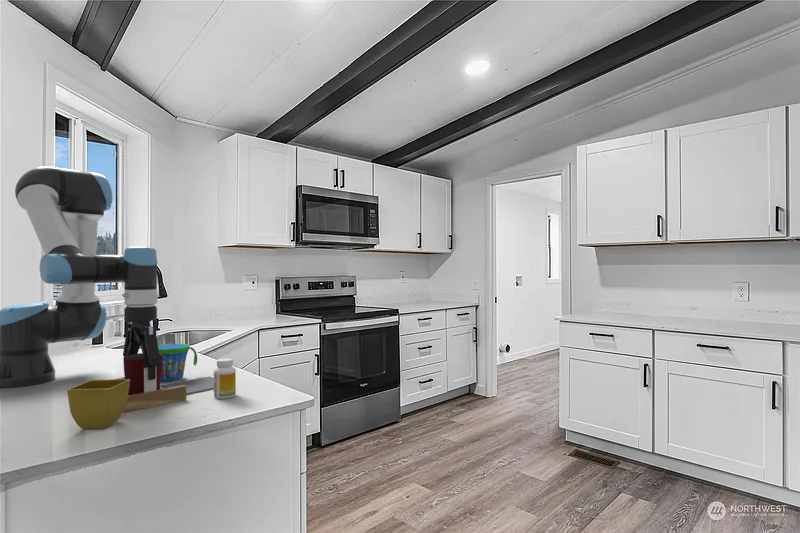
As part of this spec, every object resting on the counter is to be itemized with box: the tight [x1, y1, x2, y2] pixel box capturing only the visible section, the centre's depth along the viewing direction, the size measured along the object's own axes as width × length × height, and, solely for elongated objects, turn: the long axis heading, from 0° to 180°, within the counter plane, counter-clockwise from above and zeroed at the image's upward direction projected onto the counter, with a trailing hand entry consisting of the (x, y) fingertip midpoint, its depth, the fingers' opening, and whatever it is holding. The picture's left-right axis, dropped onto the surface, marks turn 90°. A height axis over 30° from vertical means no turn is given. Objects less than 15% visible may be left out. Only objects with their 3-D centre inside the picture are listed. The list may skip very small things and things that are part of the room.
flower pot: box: [66, 379, 130, 430], centre depth 100 cm, size 9×9×9 cm
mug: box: [122, 352, 162, 396], centre depth 122 cm, size 12×9×11 cm
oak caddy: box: [109, 376, 187, 414], centre depth 120 cm, size 22×18×4 cm
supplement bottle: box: [213, 357, 237, 400], centre depth 122 cm, size 5×5×10 cm
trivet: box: [161, 375, 214, 396], centre depth 133 cm, size 14×14×1 cm
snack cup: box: [158, 343, 198, 383], centre depth 141 cm, size 16×10×10 cm
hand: (140, 387), depth 122 cm, fingers closed on mug, 12 cm apart
